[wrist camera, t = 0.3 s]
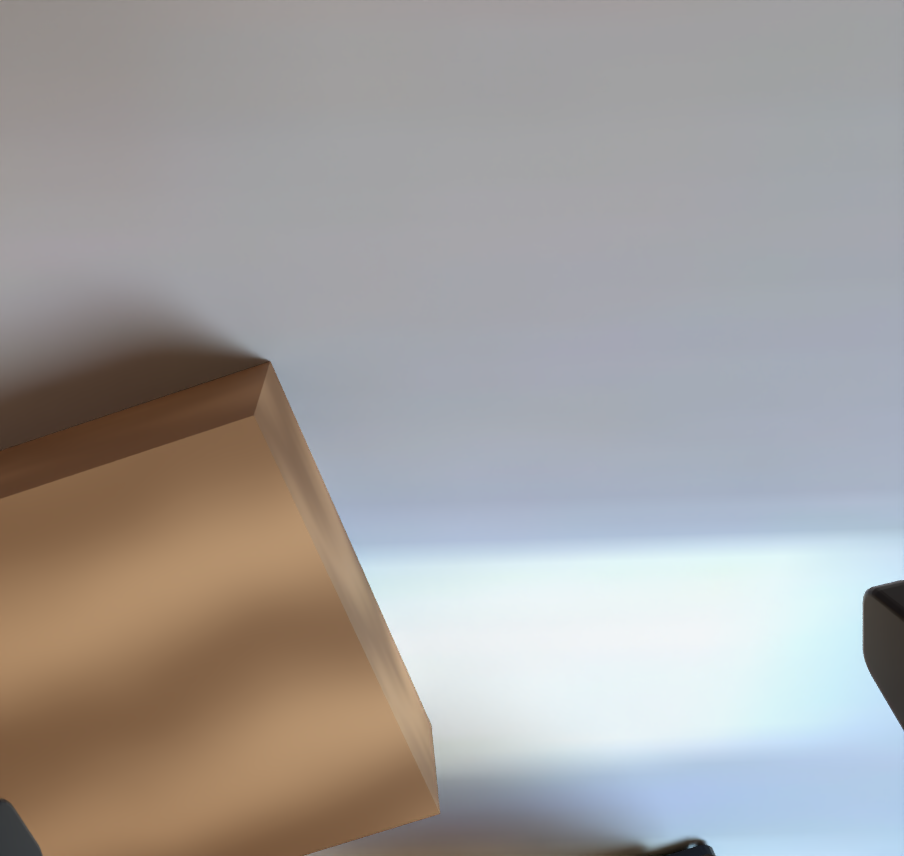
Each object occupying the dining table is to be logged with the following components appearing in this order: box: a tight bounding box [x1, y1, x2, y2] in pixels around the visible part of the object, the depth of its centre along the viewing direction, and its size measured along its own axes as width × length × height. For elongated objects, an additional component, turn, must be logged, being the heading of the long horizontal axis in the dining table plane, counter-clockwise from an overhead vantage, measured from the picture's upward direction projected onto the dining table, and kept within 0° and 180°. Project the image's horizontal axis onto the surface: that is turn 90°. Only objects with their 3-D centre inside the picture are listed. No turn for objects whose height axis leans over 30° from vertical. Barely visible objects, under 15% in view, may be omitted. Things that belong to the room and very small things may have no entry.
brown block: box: [0, 362, 440, 856], centre depth 23 cm, size 14×14×4 cm
